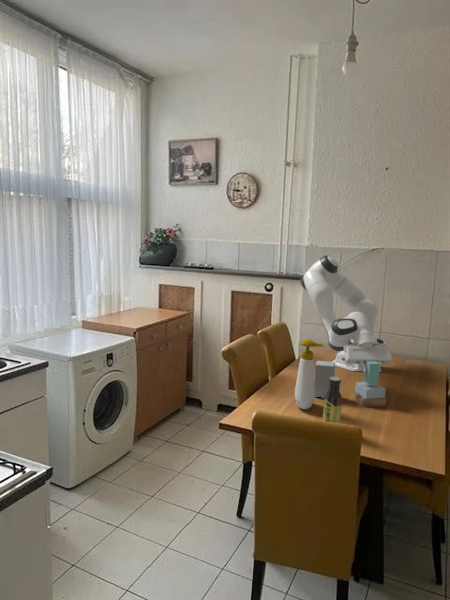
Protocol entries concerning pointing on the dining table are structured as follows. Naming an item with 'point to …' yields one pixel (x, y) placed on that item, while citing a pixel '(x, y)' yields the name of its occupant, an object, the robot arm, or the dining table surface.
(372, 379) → the teal block
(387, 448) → the dining table surface
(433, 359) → the dining table surface
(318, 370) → the skincare box
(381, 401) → the walnut block
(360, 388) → the grey block
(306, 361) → the soap bottle
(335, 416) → the sauce bottle
